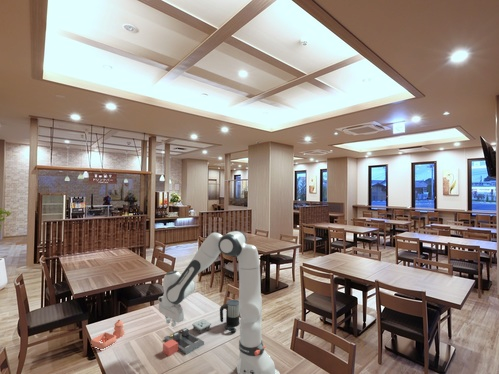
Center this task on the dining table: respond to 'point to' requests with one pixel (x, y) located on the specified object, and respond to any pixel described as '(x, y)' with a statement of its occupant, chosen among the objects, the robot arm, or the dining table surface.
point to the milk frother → (231, 314)
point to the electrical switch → (201, 326)
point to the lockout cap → (170, 347)
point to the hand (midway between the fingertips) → (170, 324)
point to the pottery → (108, 336)
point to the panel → (186, 342)
